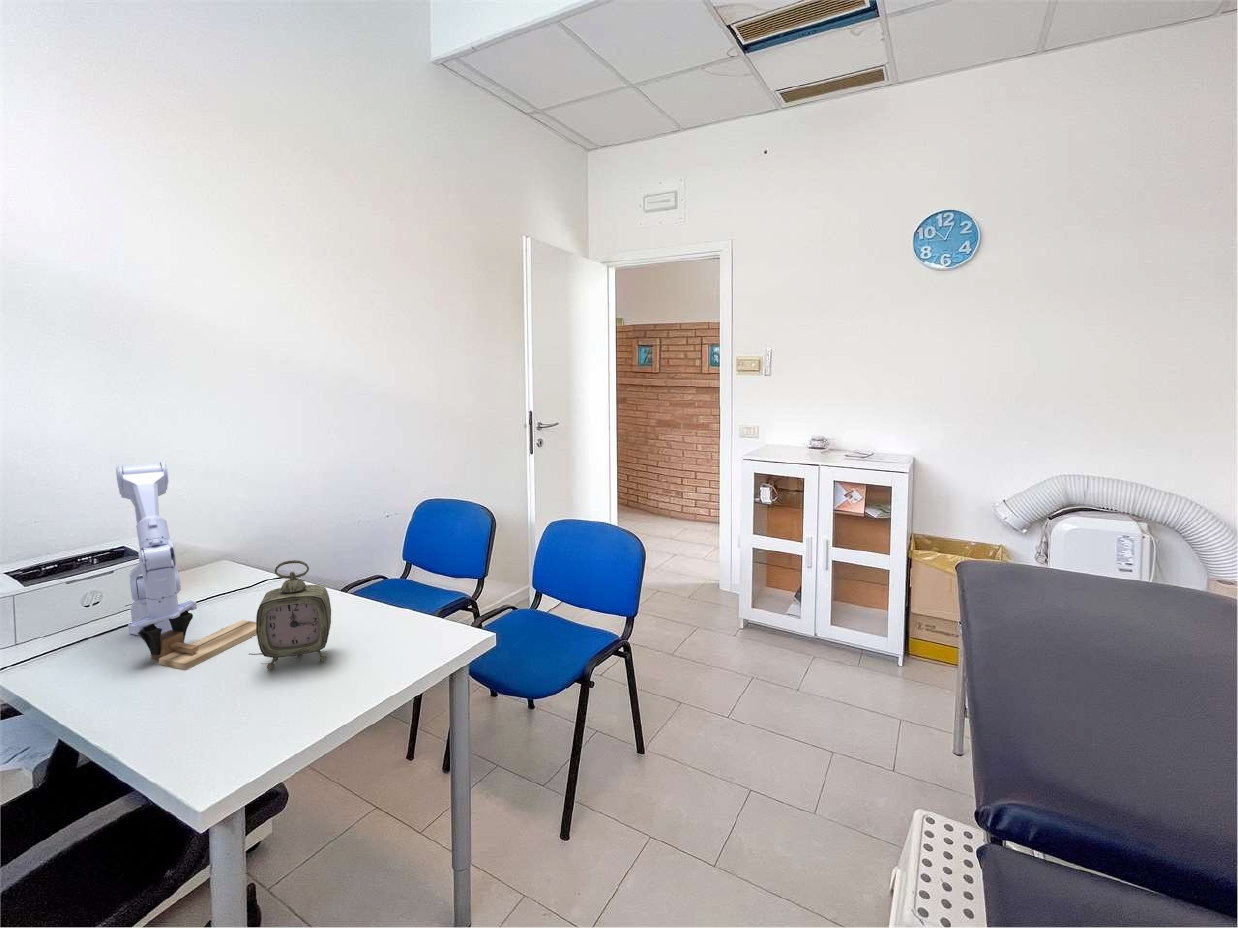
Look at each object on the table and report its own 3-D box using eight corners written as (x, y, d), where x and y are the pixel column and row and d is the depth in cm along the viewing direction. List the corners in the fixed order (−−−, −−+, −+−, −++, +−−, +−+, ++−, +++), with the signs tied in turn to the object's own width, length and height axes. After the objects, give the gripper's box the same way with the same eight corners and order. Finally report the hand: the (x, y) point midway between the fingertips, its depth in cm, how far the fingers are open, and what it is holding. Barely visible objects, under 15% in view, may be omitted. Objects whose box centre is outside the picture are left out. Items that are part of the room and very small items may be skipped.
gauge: (151, 658, 137) (149, 638, 136) (172, 649, 142) (170, 629, 141) (185, 665, 134) (183, 645, 133) (205, 655, 139) (203, 635, 138)
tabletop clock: (260, 675, 131) (250, 569, 126) (267, 656, 139) (259, 557, 135) (331, 664, 136) (324, 563, 132) (334, 647, 144) (328, 551, 140)
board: (159, 664, 134) (158, 658, 134) (243, 625, 155) (242, 619, 155) (185, 669, 132) (185, 663, 132) (267, 629, 153) (266, 623, 153)
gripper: (142, 609, 128) (148, 665, 130) (204, 586, 142) (209, 637, 144) (118, 605, 130) (125, 661, 132) (181, 582, 144) (187, 633, 146)
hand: (167, 648), depth 138 cm, fingers closed on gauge, 5 cm apart
